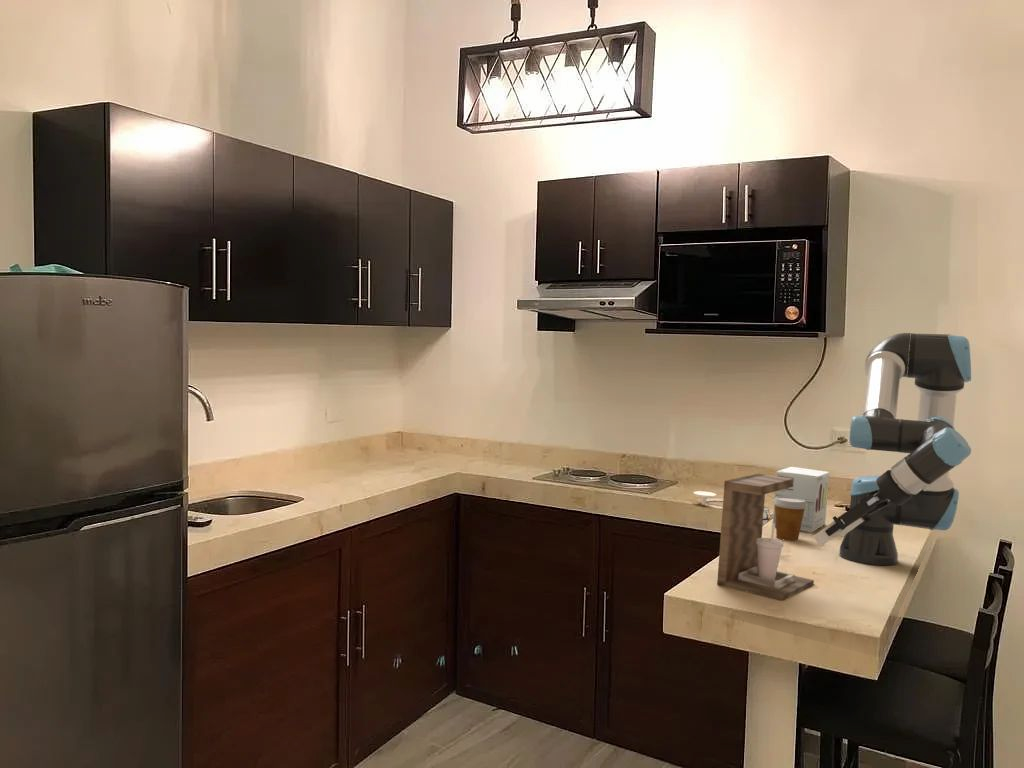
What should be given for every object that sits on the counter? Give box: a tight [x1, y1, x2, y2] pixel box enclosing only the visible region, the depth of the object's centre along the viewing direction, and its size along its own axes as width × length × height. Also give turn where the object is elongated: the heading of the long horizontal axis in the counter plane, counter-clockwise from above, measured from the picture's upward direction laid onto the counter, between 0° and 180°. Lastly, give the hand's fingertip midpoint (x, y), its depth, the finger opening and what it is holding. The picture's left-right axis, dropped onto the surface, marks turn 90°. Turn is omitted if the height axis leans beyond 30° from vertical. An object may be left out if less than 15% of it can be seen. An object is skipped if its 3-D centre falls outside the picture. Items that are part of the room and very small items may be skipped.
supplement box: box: [772, 466, 831, 533], centre depth 284 cm, size 17×13×18 cm
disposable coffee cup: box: [773, 497, 806, 542], centre depth 263 cm, size 10×10×12 cm
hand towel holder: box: [693, 490, 723, 510], centre depth 313 cm, size 17×4×21 cm
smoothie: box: [756, 522, 784, 580], centre depth 210 cm, size 6×6×14 cm
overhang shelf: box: [716, 473, 815, 601], centre depth 210 cm, size 20×16×25 cm
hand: (828, 536), depth 201 cm, fingers open, 13 cm apart
